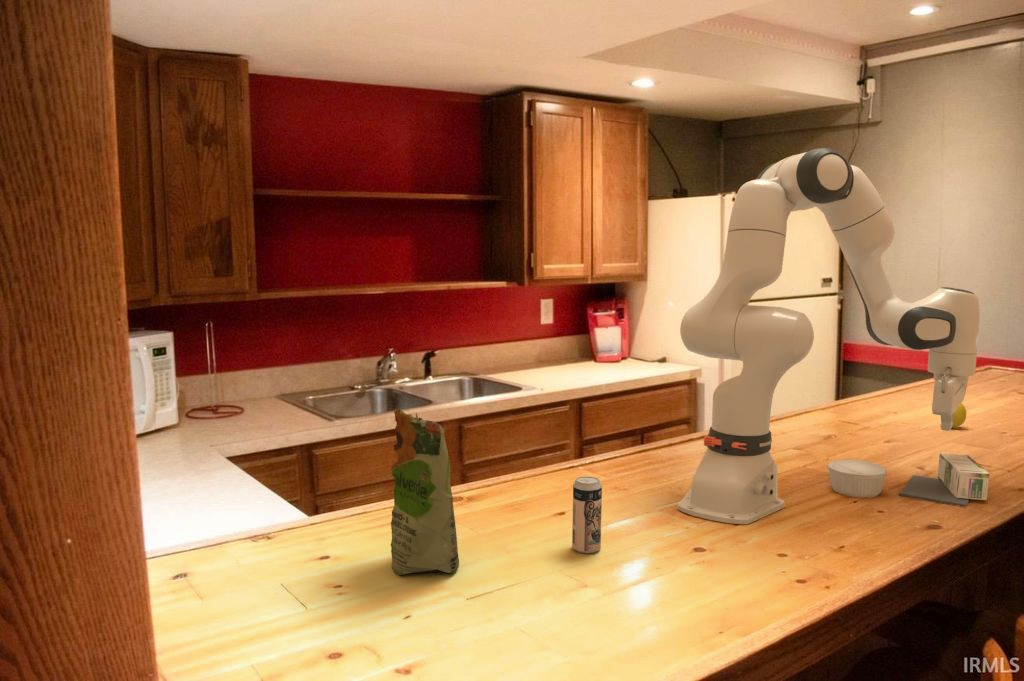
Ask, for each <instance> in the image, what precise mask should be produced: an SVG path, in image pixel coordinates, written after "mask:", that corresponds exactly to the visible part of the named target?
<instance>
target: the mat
mask: <svg viewBox="0 0 1024 681" xmlns="http://www.w3.org/2000/svg"><path fill="white" fill-rule="evenodd" d="M898 496H900V497H905V498H910V499H916V500H923V501H927V502H933V503H938V502H939V503H940V504H944V503H946V504H945V505H950V504H952V505H951V506H955V505H960V506H959V507H961V506H967V507H968V504H969V502H970V500H969V499H964V498H956V497H955V496H954V495H953V494H952V493H951V492H950V491H949V489H948V488H947V487H946V486H945V485H944V484H943V483H942V482H941V481H940V480H939V479H938V478H935V477H929V476H923V475H917V474H912V475H911V477H910V478H909V480H908V481H907V482H906V483H905V484H904V486H903V487H902V489H901V490H900V491H899V494H898ZM939 503H938V504H939Z"/></svg>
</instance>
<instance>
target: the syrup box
mask: <svg viewBox="0 0 1024 681" xmlns="http://www.w3.org/2000/svg"><path fill="white" fill-rule="evenodd" d="M937 468H938V469H937V479H939V480H940V481H941V482H942V483H943V484H944V485H945V486H946V487H947V488H948V489H949V491H950V492H951V493H952V494H953V495H954V496H955V497H956V498H964V499H970V500H979V501H987V499H988V494H989V493H988V491H989V482H990V476H991V475H990V472H988V470H987V469H986V468H984V467H982V465H980V464H979V463H978V462H977V461H976V460H974V459H973V458H972V457H971V456H970V455H968V454H957V453H956V454H955V453H954V454H953V453H942V452H940V453H939V458H938V467H937Z"/></svg>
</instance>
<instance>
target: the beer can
mask: <svg viewBox="0 0 1024 681" xmlns="http://www.w3.org/2000/svg"><path fill="white" fill-rule="evenodd" d="M572 488H573V489H572V530H571V533H572V534H571V547H572V549H573V550H574V551H576V552H577V553H580V554H586V555H587V554H594V553H596V552H598V551H599V550H601V547H602V546H601V545H602V538H601V537H602V508H603V507H602V506H603V504H602V503H603V502H602V501H603V499H602V498H603V486H602V484H601V481H600V479H599V477H594V476H585V475H584V476H579V477H576V478H575V481H574V482H573V483H572Z"/></svg>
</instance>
